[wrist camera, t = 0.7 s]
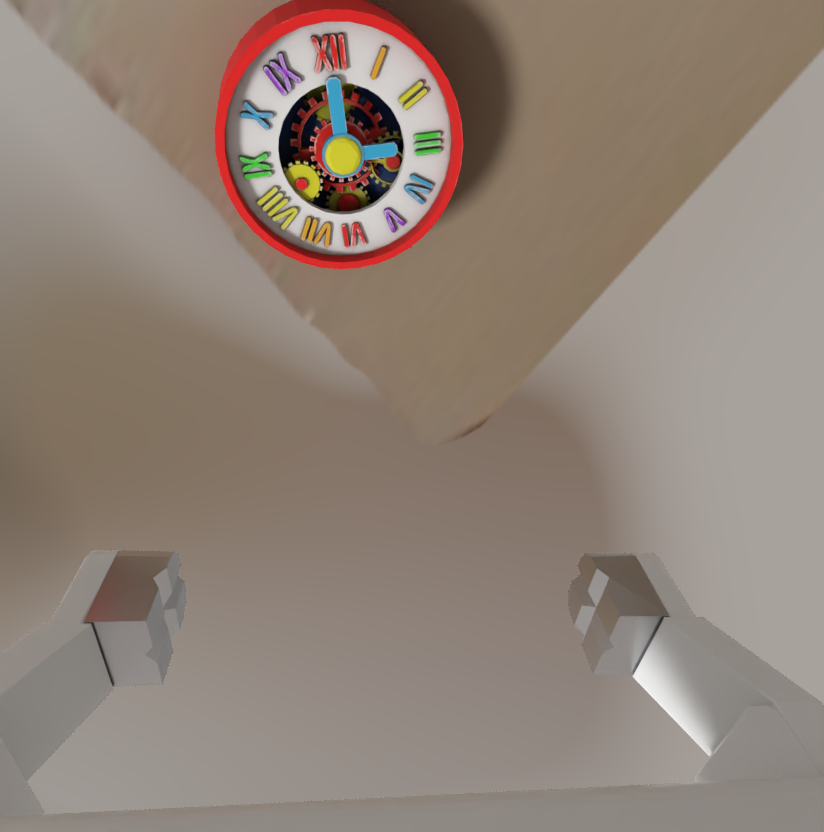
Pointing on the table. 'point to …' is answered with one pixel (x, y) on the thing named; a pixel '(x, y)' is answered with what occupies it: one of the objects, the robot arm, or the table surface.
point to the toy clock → (337, 133)
